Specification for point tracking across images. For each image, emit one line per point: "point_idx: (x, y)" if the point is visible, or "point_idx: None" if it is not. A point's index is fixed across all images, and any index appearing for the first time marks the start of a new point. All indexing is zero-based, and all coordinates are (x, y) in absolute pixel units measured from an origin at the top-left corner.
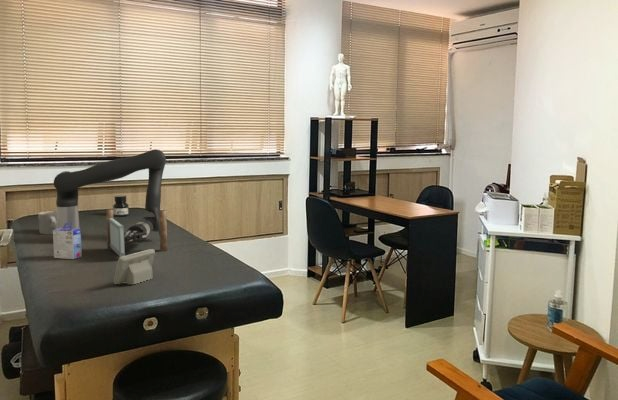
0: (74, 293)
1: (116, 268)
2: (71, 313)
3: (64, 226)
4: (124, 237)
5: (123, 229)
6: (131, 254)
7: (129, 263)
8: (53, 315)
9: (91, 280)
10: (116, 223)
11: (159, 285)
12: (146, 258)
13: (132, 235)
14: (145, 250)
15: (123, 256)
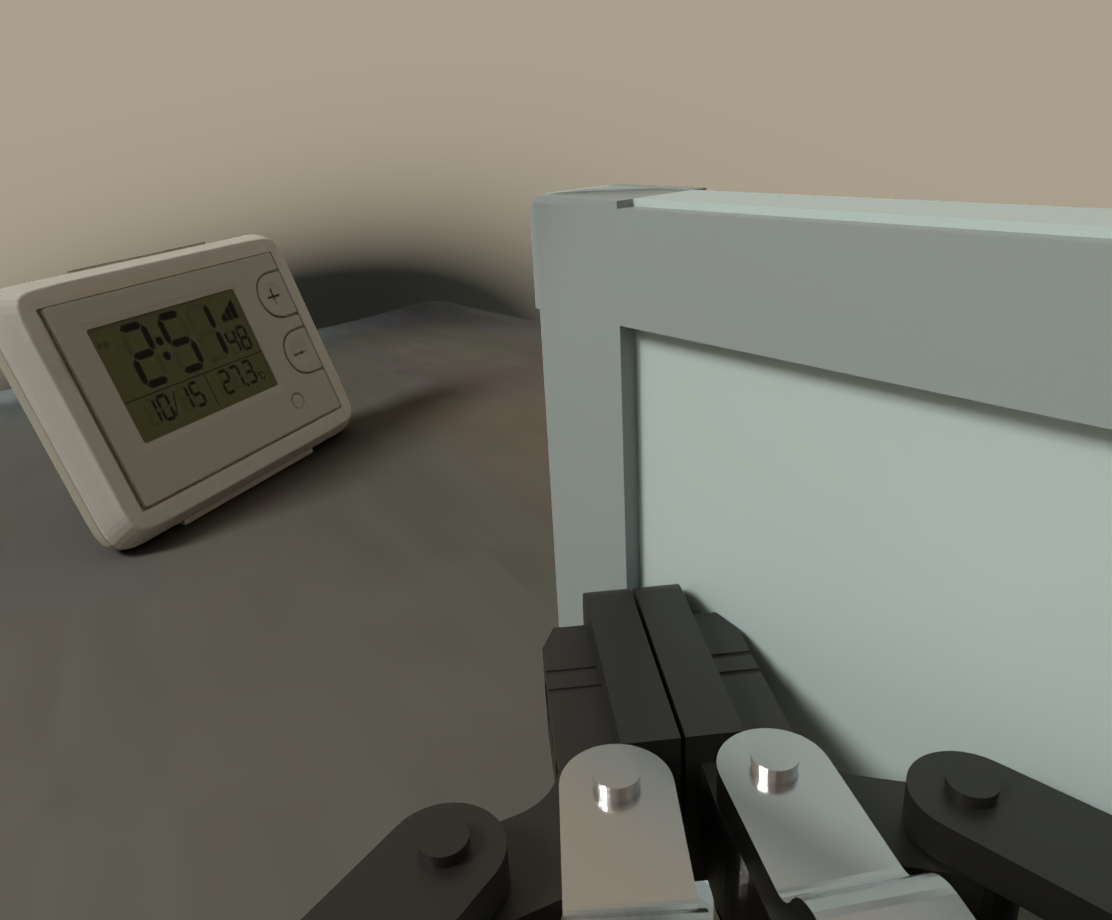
0: (516, 367)
1: (309, 316)
2: (412, 317)
3: None
4: (631, 595)
5: (541, 287)
6: (190, 248)
7: (229, 332)
8: (466, 308)
9: (545, 444)
10: (1062, 208)
11: (40, 459)
12: (86, 379)
13: (565, 908)
14: (71, 276)
15: (243, 238)
